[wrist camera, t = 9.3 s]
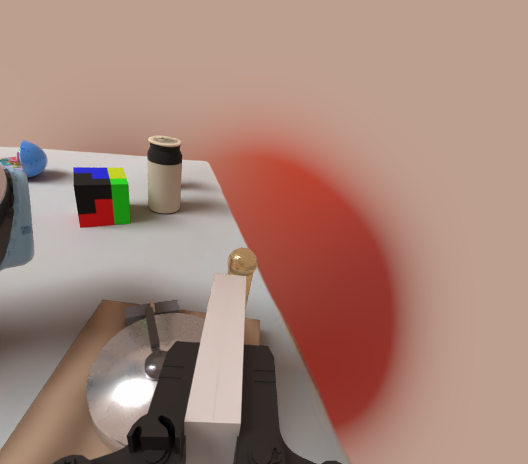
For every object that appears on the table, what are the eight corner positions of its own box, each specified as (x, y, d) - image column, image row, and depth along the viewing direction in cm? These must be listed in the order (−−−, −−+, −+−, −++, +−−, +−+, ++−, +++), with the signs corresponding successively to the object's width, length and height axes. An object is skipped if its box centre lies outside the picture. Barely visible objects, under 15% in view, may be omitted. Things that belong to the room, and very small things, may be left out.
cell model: (0, 168, 78) (-10, 133, 74) (53, 170, 83) (47, 137, 79) (-13, 183, 71) (-25, 144, 66) (47, 184, 76) (39, 148, 71)
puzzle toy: (79, 207, 70) (73, 167, 65) (124, 204, 75) (122, 167, 70) (80, 227, 62) (73, 185, 57) (130, 223, 67) (128, 184, 62)
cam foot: (88, 495, 25) (47, 363, 16) (91, 338, 37) (70, 214, 28) (259, 422, 32) (298, 305, 23) (214, 312, 45) (228, 208, 36)
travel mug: (182, 213, 76) (186, 146, 67) (150, 215, 72) (149, 143, 63) (176, 200, 82) (178, 136, 73) (146, 201, 78) (145, 134, 69)
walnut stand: (-33, 530, 24) (-60, 503, 21) (104, 313, 45) (100, 285, 42) (251, 545, 26) (263, 523, 23) (256, 332, 47) (263, 306, 44)
